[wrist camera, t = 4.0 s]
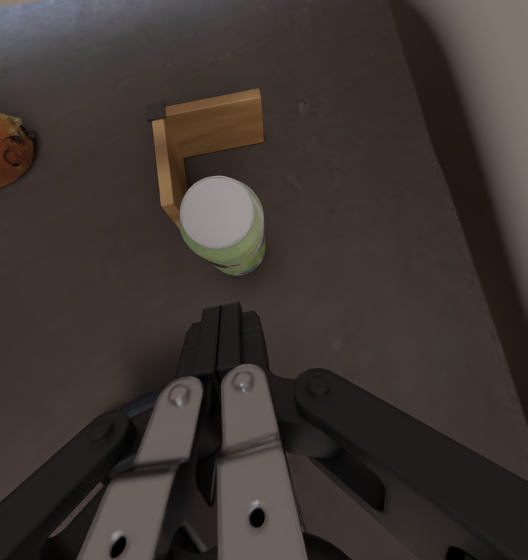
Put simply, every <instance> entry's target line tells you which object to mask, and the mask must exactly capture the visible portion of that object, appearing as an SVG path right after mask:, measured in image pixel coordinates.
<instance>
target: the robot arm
mask: <svg viewBox="0 0 528 560" xmlns="http://www.w3.org/2000/svg"><path fill="white" fill-rule="evenodd" d="M285 452H287V453H293V454H299V455H305V456H307V457H308V458H309V460H310V461H311V462H312V463H313V464H314V465H315V466H317V467H318V468H319V469H320V470H321V471H322V472H323V473H324V474H325V475H327V476H328V477H329V478H330V479H331V480H332V481H333V482H334V483H336V484H337V485H338V486H339V487H340V488H341V489H342V490H343V491H345V492H346V493H347V494H348V495H349V496H350V497H351V498H352V499H353V500H355V501H356V502H357V503H358V504H359V505H360V506H361V507H362V508H364V509H365V510H366V511H367V512H368V513H369V514H370V515H371V516H373V517H374V518H375V519H376V520H377V521H378V522H379V523H380V524H381V525H383V526H384V527H385V528H386V529H387V530H388V531H389V532H390V533H392V534H393V535H394V536H395V537H396V538H397V539H398V540H399V541H401V542H402V543H403V544H404V545H405V546H406V547H407V548H408V549H409V550H411V551H412V552H413V553H414V554H415V555H416V556H417V557H418V558H420V559H421V560H528V481H526V480H524V479H522V478H521V477H519V476H517V475H515V474H513V473H512V472H510V471H508V470H506V469H505V468H503V467H501V466H499V465H497V464H496V463H494V462H492V461H490V460H488V459H487V458H485V457H483V456H481V455H480V454H478V453H476V452H474V451H472V450H471V449H469V448H467V447H465V446H464V445H462V444H460V443H458V442H456V441H455V440H453V439H451V438H449V437H447V436H446V435H444V434H442V433H440V432H439V431H437V430H435V429H433V428H431V427H430V426H428V425H426V424H424V423H422V422H421V421H419V420H417V419H415V418H414V417H412V416H410V415H408V414H406V413H405V412H403V411H401V410H399V409H397V408H396V407H394V406H392V405H390V404H389V403H387V402H385V401H383V400H381V399H380V398H378V397H376V396H374V395H373V394H371V393H369V392H367V391H365V390H364V389H362V388H360V387H358V386H356V385H355V384H353V383H351V382H349V381H348V380H346V379H344V378H342V377H340V376H339V375H337V374H335V373H333V372H331V371H329V370H326V369H321V368H316V369H310V370H307V371H305V372H303V373H302V374H300V375H299V376H298V377H297V379H296V380H295V379H285V378H280V377H278V376H275V375H274V374H272V373H271V372H270V367H269V361H268V355H267V348H266V343H265V338H264V334H263V330H262V326H261V322H260V318H259V316H258V315H257V314H256V313H255V312H254V311H249V312H244V313H243V312H242V308H241V305H240V302H234V303H229V304H225V305H222V306H221V305H220V306H216V307H211V308H206V309H204V310H203V314H202V319H201V322H197V323H193V324H192V326H191V327H190V328H189V330H188V331H187V332H186V336H185V340H184V344H183V348H182V352H181V356H180V360H179V364H178V367H177V371H176V375H175V379H174V381H173V382H171V383H170V384H168V385H167V386H166V387H165V388H164V389H163V390H162V392H161V393H160V395H159V397H158V399H157V402H156V405H154V406H153V407H151V408H149V409H147V410H145V411H143V412H141V413H139V414H137V415H135V416H133V417H131V418H129V416H128V415H127V413H126V412H124V411H122V410H112V411H108V412H106V413H104V414H102V415H100V416H98V417H97V418H95V419H94V420H93V421H92V422H90V423H89V424H88V425H87V426H86V427H85V428H84V429H83V430H81V431H80V432H79V433H78V434H77V435H76V436H75V437H73V438H72V439H71V440H70V441H69V442H68V443H67V444H66V445H64V446H63V447H62V448H61V449H60V450H59V451H58V452H57V453H55V454H54V455H53V456H52V457H51V458H50V459H49V460H48V461H46V462H45V463H44V464H43V465H42V466H41V467H40V468H38V469H37V470H36V471H35V472H34V473H33V474H32V475H31V476H29V477H28V478H27V479H26V480H25V481H24V482H23V483H22V484H20V485H19V486H18V487H17V488H16V489H15V490H14V491H13V492H11V493H10V494H9V495H8V496H7V497H6V498H5V499H3V500H2V501H1V502H0V560H351V559H350V558H349V557H348V556H347V555H346V554H345V553H343V552H342V551H341V550H340V549H338V548H337V547H335V546H334V545H333V544H331V543H330V542H328V541H326V540H324V539H322V538H320V537H318V536H315V535H312V534H309V533H305V532H304V528H303V523H302V519H301V515H300V511H299V507H298V503H297V499H296V495H295V491H294V486H293V482H292V478H291V474H290V470H289V465H288V461H287V457H286V453H285ZM99 482H101V483H102V484H103V485H104V486H103V487H102V489H101V490H100V491H99V492H98V493H97V494H96V495H95V496H94V497H93V498H92V499H91V501H90V502H89V503H88V504H87V505H86V506H85V507H84V508H83V509H82V510H81V512H80V513H79V514H78V515H77V516H76V517H75V518H74V519H73V520H72V521H71V522H70V524H69V525H68V526H67V527H66V528H65V529H64V530H63V531H62V532H60V533H59V534H57V535H56V536H54V537H51V538H48V537H49V536H50V535H51V534H52V532H53V531H54V530H55V529H56V528H57V527H58V526H59V525H60V524H61V523H62V522H63V521H64V520H65V519H66V517H67V516H68V515H69V514H70V513H71V512H72V511H73V510H74V509H75V508H76V507H77V506H78V505H79V504H80V502H81V501H82V500H83V499H84V498H85V497H86V496H87V495H88V494H89V493H90V492H91V491H92V490H93V489H94V487H95V486H96V485H97V484H98V483H99Z"/></svg>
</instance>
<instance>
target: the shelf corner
mask: <svg viewBox="0 0 528 560" xmlns="http://www.w3.org/2000/svg"><path fill="white" fill-rule="evenodd" d="M146 109H147V119H148V121H152V125H153V134H154V143H155V153H156V162H157V171H158V181H159V190H160V200H161V206H162V208H163V209H164V210H165V211H166V213H167V214H168V215H169V216H170V218H171V219H172V220H173V221H174V222H175V224H176V225H177V226H178V227H179V211H180V207H181V203H182V200H183V198H184V196H185V194H186V192H187V191H188V187H187V180H186V173H185V166H184V159H183V158H186V157H191V156H196V155H201V154H206V153H211V152H216V151H221V150H226V149H231V148H236V147H241V146H246V145H251V144H256V143H261V142H264V139H263V123H262V107H261V96H260V92H259V89H253V90H248V91H243V92H238V93H233V94H228V95H223V96H218V97H213V98H208V99H203V100H198V101H193V102H188V103H182V104H177V105H172V106H167V107H165V104H164V102H160V103H155V104H150V105H146ZM179 229H180V228H179Z"/></svg>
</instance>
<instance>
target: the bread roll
mask: <svg viewBox="0 0 528 560" xmlns="http://www.w3.org/2000/svg"><path fill="white" fill-rule="evenodd" d="M21 124H22V119H20V118H17V117H13V116H7V115H5V114H4V113H2V112H0V188H1V187H3V186H5V185H7V184H9V183H11V182H13V181H15V180H17V179H18V178H19V177H20V176H22V175H23V174H24V173H25V172H26V171H27V169H28V168H29V167H30V166H31V164H32V162H33V158H34V143H33V141H32V138H34V134H32V133H29V132H27V131H26V129H25V128H24V127H23V126H22V125H21Z"/></svg>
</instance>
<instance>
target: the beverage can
mask: <svg viewBox="0 0 528 560" xmlns="http://www.w3.org/2000/svg"><path fill="white" fill-rule="evenodd" d="M179 228H180V232H181V235H182V237H183V239H184V241H185V242H186V244H187V245H188V246H189V247H190V248H191V249H192V250H193V251H194V252H195V253H196V254H198V255H199V256H201V257H202V258H203V259H205V260H206V261H208V262H209V263H210V264H212V265H213V266H215V267H216V268H217V269H219V270H220V271H222V272H223V273H226V274H229V275H234V276H239V275H244V274H247V273H250V272H252V271H253V270H254V269H256V268H257V267H258V266H259V264H260V263H261V261H262V259H263V257H264V254H265V231H264V216H263V209H262V206H261V203H260V201H259V199H258V197H257V196H256V194H255V193H254V192H253V191H252V190H251V189H250V188H249V187H248V186H247V185H245V184H244V183H242V182H240V181H238V180H235V179H232V178H229V177H225V176H211V177H207V178H204V179H202V180H200V181H198V182H197V183H195V184H194V185H193V186H192V187H191V188H190V189H189V190H188V191H187V192H186V194H185V196H184V198H183V200H182V203H181V207H180V211H179Z"/></svg>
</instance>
